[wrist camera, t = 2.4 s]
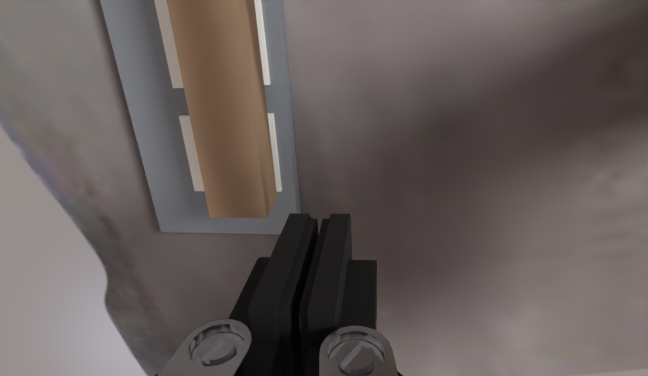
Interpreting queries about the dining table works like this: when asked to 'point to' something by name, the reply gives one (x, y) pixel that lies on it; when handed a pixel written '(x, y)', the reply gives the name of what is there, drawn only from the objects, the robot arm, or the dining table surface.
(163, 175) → the label board
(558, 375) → the dining table surface
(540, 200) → the dining table surface
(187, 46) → the swing bar
